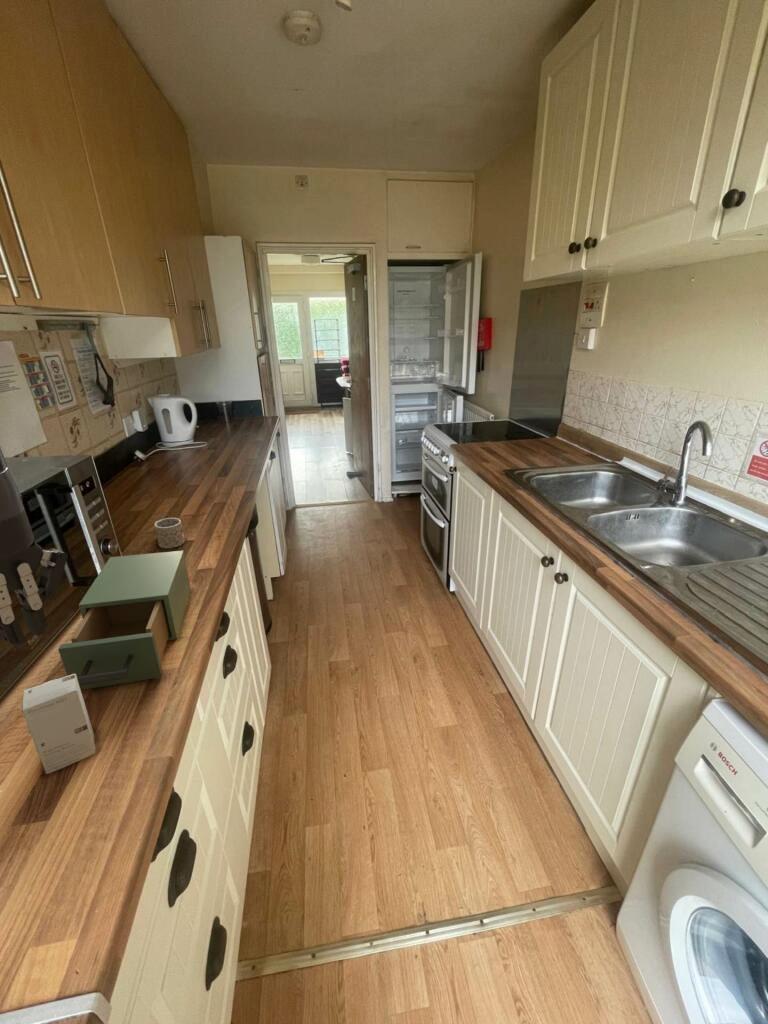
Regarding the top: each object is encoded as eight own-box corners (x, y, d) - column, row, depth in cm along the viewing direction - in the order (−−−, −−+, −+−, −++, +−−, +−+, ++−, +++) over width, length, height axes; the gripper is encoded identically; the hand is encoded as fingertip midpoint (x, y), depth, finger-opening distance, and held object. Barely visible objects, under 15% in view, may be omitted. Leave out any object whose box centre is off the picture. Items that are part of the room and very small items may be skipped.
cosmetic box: (46, 777, 59) (18, 713, 54) (46, 752, 62) (19, 690, 57) (98, 753, 62) (76, 691, 57) (96, 731, 65) (75, 671, 61)
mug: (189, 542, 122) (185, 521, 119) (167, 551, 117) (163, 530, 114) (169, 533, 127) (165, 513, 124) (147, 541, 122) (142, 520, 119)
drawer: (155, 699, 70) (144, 656, 67) (60, 714, 67) (43, 671, 63) (178, 619, 89) (171, 582, 86) (105, 628, 86) (94, 591, 82)
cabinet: (177, 640, 85) (167, 594, 80) (93, 652, 81) (78, 605, 77) (191, 590, 100) (183, 550, 96) (121, 598, 97) (110, 557, 93)
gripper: (29, 487, 54) (67, 601, 61) (-124, 529, 43) (-57, 663, 50) (66, 498, 51) (101, 616, 58) (-88, 545, 40) (-22, 685, 47)
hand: (28, 637), depth 54 cm, fingers closed
